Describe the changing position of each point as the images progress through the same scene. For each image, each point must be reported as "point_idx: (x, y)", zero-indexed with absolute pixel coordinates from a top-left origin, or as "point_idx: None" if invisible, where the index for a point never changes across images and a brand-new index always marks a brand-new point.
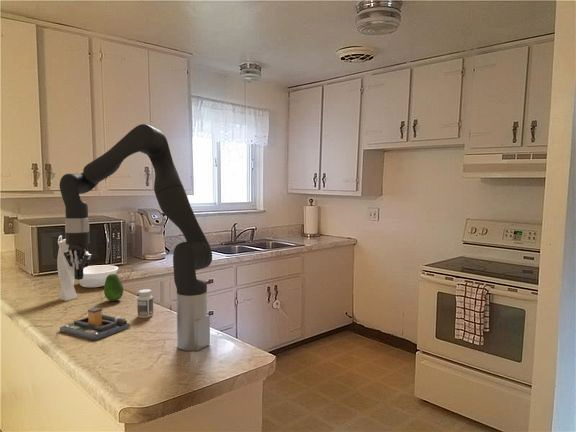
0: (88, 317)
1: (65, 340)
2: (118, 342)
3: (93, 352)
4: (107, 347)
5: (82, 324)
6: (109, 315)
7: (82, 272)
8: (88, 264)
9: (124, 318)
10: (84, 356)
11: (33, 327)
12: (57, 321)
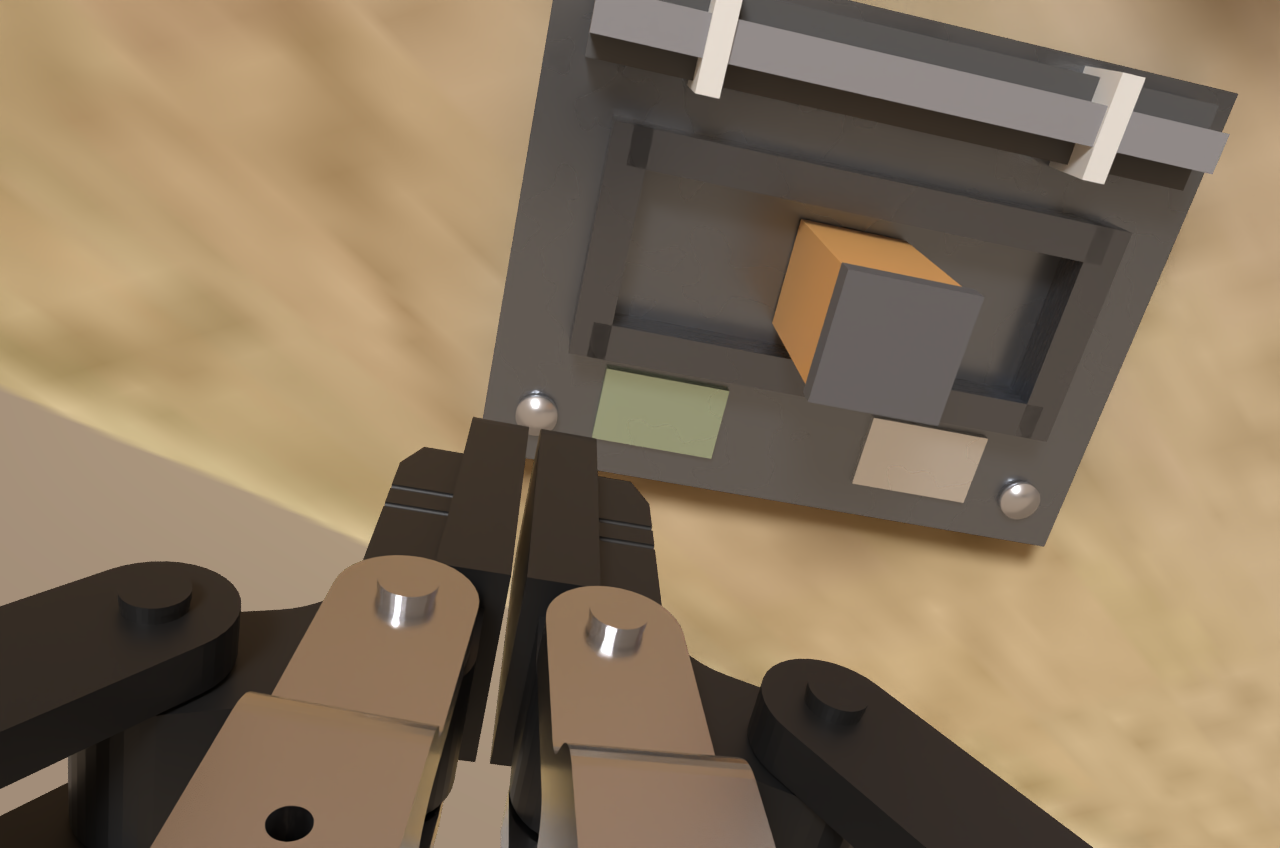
0: (794, 359)
1: (734, 586)
2: (1264, 487)
3: (1148, 701)
4: (1215, 599)
5: (728, 379)
6: (934, 81)
7: (648, 589)
8: (973, 761)
9: (1216, 135)
10: (1118, 768)
11: (78, 415)
12: (131, 161)
